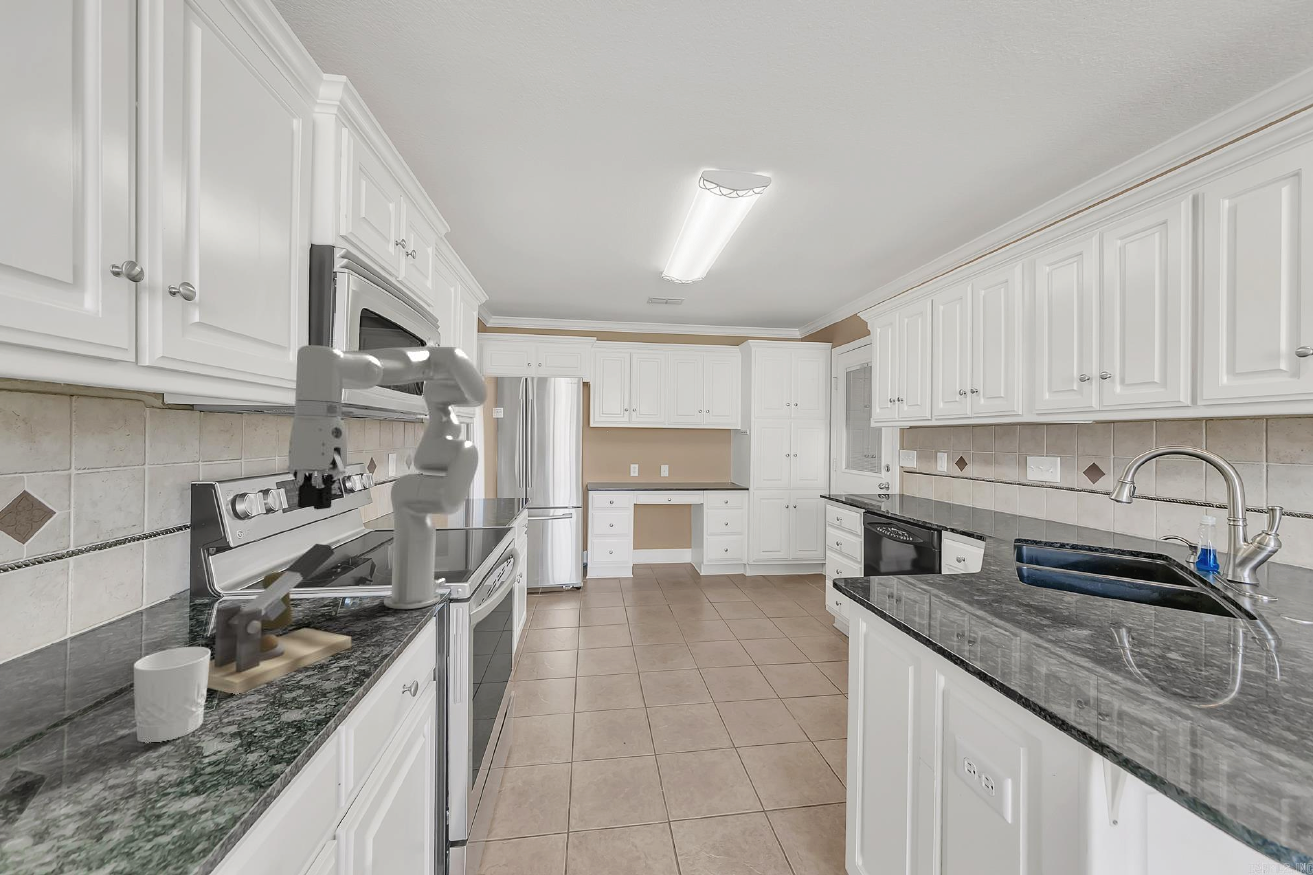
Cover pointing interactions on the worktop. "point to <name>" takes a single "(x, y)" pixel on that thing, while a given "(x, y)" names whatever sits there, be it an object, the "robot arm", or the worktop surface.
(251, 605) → the lever
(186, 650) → the white cup
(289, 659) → the nutcracker base
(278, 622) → the cork
